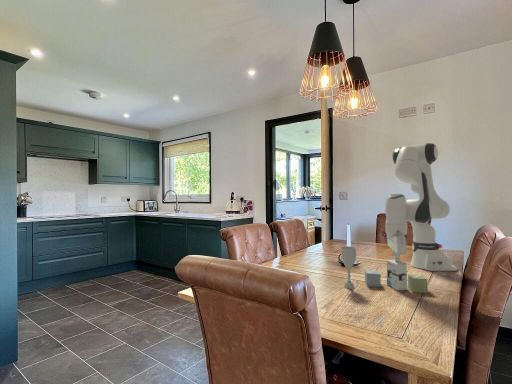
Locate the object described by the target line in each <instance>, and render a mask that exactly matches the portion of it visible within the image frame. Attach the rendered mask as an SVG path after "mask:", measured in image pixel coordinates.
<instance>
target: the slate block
mask: <svg viewBox="0 0 512 384" xmlns="http://www.w3.org/2000/svg"><path fill="white" fill-rule="evenodd" d="M381 277H382V275H381V272H380V271H379V270H375V269H374V270H371V269H365V270H364V283H365V285H366V287H375V288H382V287H381V285H382V284H381V283H382V282H381V281H382V280H381V279H382V278H381Z"/></svg>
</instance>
